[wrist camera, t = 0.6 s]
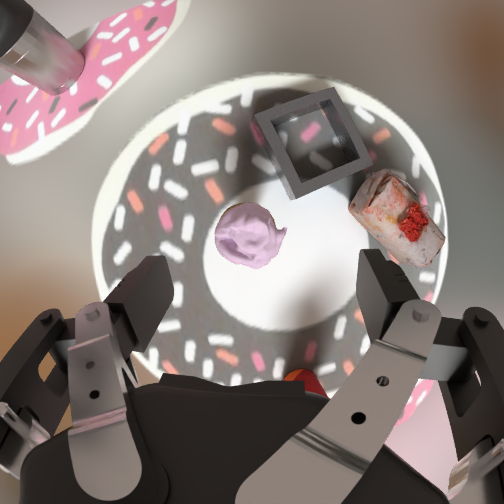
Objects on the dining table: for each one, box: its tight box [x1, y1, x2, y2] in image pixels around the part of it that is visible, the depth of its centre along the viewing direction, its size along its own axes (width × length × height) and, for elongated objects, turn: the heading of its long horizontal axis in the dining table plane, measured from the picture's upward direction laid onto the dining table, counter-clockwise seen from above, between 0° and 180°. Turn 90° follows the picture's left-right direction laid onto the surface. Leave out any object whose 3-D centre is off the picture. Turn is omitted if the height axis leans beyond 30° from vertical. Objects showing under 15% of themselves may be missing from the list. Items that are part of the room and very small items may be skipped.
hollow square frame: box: [253, 87, 374, 200], centre depth 35 cm, size 12×12×4 cm
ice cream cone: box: [215, 202, 287, 269], centre depth 31 cm, size 7×6×15 cm
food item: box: [348, 169, 445, 268], centre depth 34 cm, size 14×8×10 cm, turn 52°
